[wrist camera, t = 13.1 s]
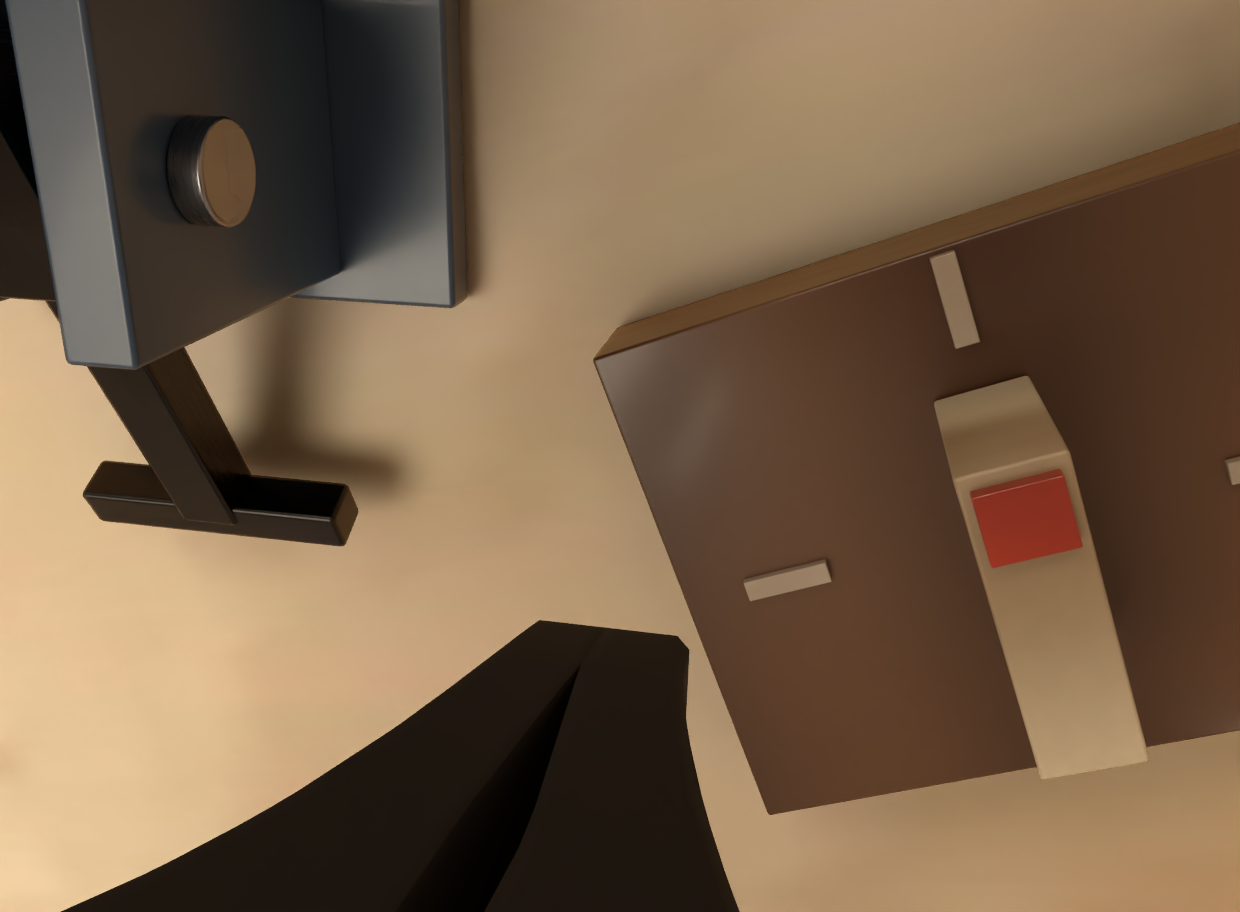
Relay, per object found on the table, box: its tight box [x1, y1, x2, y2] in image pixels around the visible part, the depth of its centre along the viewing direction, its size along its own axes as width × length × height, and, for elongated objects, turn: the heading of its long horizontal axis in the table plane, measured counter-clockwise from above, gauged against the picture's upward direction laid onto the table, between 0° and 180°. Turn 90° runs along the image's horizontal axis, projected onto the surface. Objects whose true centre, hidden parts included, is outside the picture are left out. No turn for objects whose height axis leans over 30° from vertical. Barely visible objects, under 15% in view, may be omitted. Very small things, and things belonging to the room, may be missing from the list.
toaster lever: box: [0, 20, 358, 546], centre depth 17 cm, size 9×5×2 cm, turn 179°
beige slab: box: [934, 376, 1149, 780], centre depth 15 cm, size 5×1×3 cm, turn 21°
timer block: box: [593, 123, 1240, 815], centre depth 18 cm, size 11×9×2 cm
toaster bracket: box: [0, 0, 467, 370], centre depth 16 cm, size 5×9×7 cm, turn 89°
